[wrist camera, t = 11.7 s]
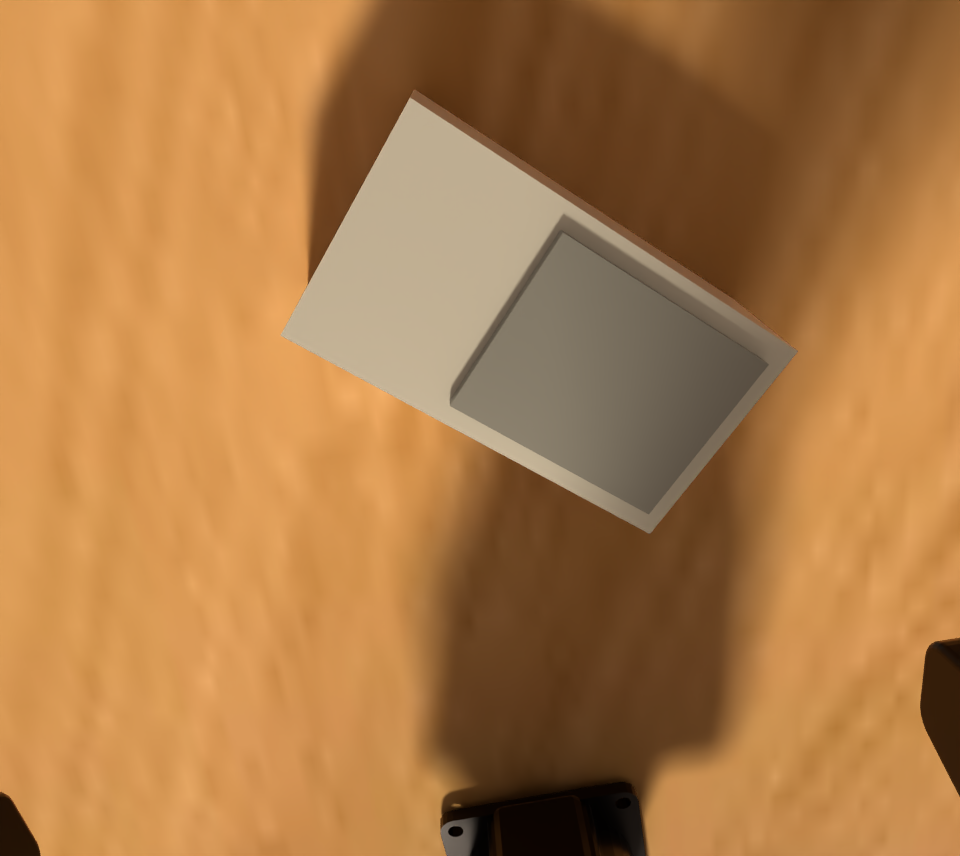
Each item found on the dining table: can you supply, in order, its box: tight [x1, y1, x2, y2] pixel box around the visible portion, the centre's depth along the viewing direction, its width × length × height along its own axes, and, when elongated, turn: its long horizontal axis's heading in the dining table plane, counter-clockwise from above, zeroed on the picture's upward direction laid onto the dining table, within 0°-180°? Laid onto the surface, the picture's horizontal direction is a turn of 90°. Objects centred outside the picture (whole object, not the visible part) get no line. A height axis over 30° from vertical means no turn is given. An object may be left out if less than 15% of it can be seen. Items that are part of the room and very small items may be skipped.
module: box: [281, 89, 798, 534], centre depth 18 cm, size 5×9×4 cm, turn 58°
